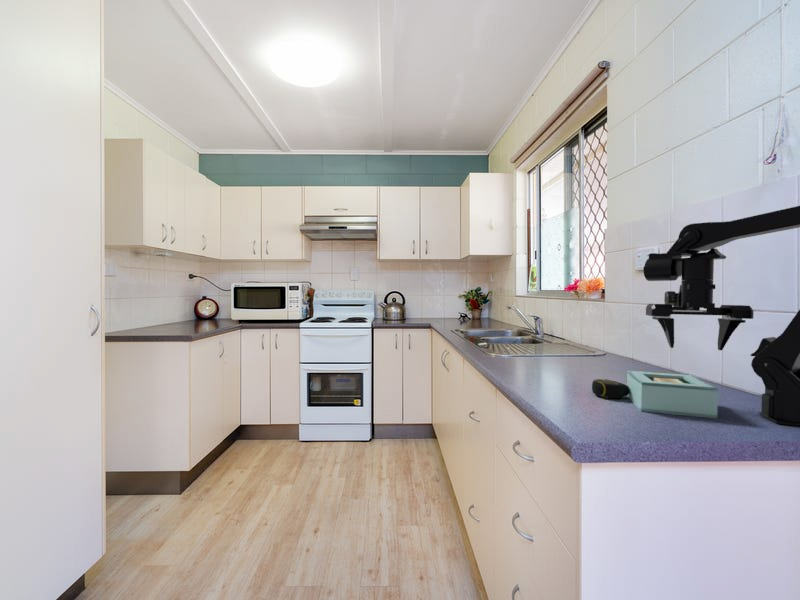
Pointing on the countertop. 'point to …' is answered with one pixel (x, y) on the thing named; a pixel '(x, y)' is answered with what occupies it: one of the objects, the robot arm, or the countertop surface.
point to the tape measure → (609, 388)
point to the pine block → (667, 380)
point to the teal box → (672, 394)
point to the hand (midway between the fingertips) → (695, 348)
